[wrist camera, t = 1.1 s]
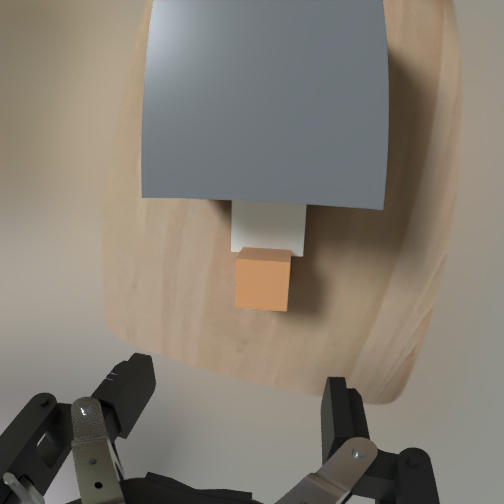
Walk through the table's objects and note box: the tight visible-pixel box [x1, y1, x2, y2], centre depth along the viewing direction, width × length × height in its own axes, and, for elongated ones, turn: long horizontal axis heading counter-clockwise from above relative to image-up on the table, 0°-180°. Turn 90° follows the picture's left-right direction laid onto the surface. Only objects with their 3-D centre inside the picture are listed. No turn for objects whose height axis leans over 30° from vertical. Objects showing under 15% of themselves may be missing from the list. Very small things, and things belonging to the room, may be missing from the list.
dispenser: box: [141, 0, 389, 210], centre depth 20 cm, size 17×14×10 cm
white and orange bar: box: [231, 200, 307, 311], centre depth 24 cm, size 20×6×5 cm, turn 178°
